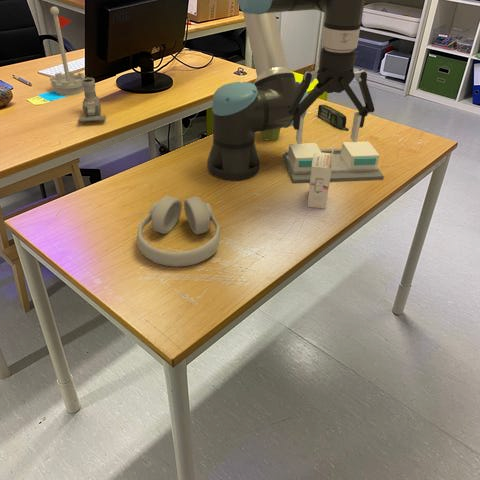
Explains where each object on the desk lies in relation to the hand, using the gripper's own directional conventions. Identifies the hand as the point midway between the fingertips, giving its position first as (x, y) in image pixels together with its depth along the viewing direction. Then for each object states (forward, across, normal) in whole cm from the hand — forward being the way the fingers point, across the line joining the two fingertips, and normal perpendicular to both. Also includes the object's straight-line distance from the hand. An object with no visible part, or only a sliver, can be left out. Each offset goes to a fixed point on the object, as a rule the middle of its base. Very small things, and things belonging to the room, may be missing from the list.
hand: (326, 141), depth 112 cm
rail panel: (+17, +8, +18) cm, 26 cm away
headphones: (+17, -36, -14) cm, 42 cm away
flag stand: (+16, -77, +88) cm, 118 cm away
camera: (+16, -65, +60) cm, 90 cm away
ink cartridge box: (+17, 0, 0) cm, 17 cm away
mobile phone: (+17, +18, +49) cm, 55 cm away
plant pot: (+17, -6, +40) cm, 43 cm away
